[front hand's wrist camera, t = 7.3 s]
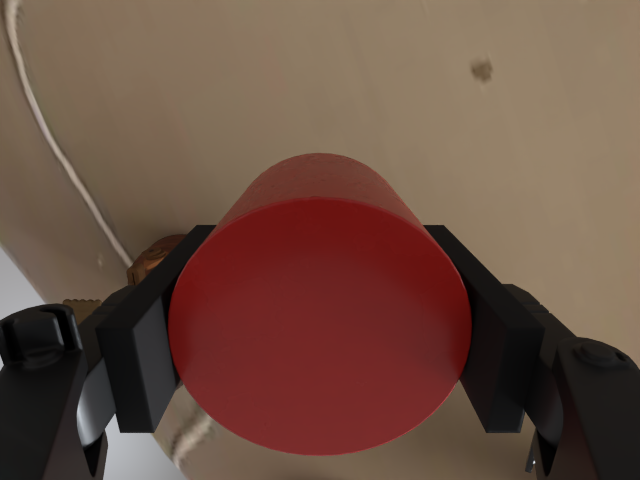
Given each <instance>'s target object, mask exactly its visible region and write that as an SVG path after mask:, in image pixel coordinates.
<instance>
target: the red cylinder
mask: <svg viewBox="0 0 640 480" xmlns="http://www.w3.org/2000/svg"><path fill="white" fill-rule="evenodd" d="M471 335H472V317H471V307H470V303H469V299H468V295H467V291H466V288H465V286H464V284H463V281H462V279H461V276H460V274H459V272H458V271H457V269H456V267H455V266H454V264H453V263H452V261H451V259H450V258H449V257H448V255H447V254H446V253H445V252H444V250H443V249H442V248H441V247H440V246H439V244H438V243H437V242H436V241H435V240H434V238H433V237H432V236H431V235H430V233H429V232H428V231H427V230H426V229H425V227H424V226H423V225H422V224H421V223H420V221H419V220H418V219H417V218H416V216H415V215H414V214H413V213H412V212H411V210H410V209H409V208H408V207H407V206H406V204H405V203H404V202H403V201H402V199H401V198H400V197H399V196H398V195H397V193H396V192H395V191H394V190H393V189H392V187H391V186H390V185H389V184H388V183H387V182H386V180H385V179H384V178H382V177H381V176H380V175H379V174H378V173H377V172H375V171H374V170H372V169H371V168H370V167H368V166H367V165H365V164H363V163H361V162H358V161H356V160H354V159H351V158H348V157H345V156H341V155H335V154H327V153H313V154H304V155H299V156H295V157H292V158H289V159H286V160H283V161H281V162H279V163H277V164H275V165H274V166H272V167H270V168H269V169H267V170H266V171H265V172H263V173H262V174H261V175H260V176H259V177H258V178H256V179H255V180H254V181H253V182H252V184H251V185H250V186H249V187H248V188H247V190H246V191H245V192H244V193H243V194H242V196H241V197H240V198H239V199H238V200H237V202H236V203H235V204H234V205H233V207H232V208H231V209H230V210H229V211H228V213H227V214H226V215H225V216H224V217H223V219H222V220H221V221H220V222H219V223H218V225H217V226H216V227H215V228H214V229H213V231H212V232H211V233H210V234H209V236H208V237H207V238H206V239H205V240H204V242H203V243H202V244H201V245H200V246H199V248H198V249H197V250H196V251H195V253H194V254H193V255H192V256H191V258H190V259H189V260H188V262H187V263H186V265H185V267H184V269H183V270H182V272H181V274H180V276H179V277H178V280H177V283H176V285H175V288H174V291H173V293H172V297H171V302H170V306H169V311H168V338H169V347H170V351H171V355H172V359H173V362H174V365H175V367H176V370H177V372H178V374H179V377H180V379H181V380H182V382H183V384H184V385H185V387H186V389H187V390H188V392H189V393H190V395H191V396H192V397H193V398H194V400H195V401H196V402H197V404H198V405H199V406H200V407H201V408H202V409H203V410H204V411H205V412H206V413H207V414H208V415H209V416H210V417H211V418H213V419H214V420H215V421H217V422H218V423H219V424H221V425H222V426H223V427H224V428H226V429H228V430H229V431H231V432H233V433H234V434H236V435H238V436H239V437H242V438H244V439H246V440H248V441H250V442H252V443H255V444H257V445H260V446H263V447H266V448H269V449H272V450H277V451H281V452H285V453H291V454H298V455H308V456H330V455H342V454H349V453H355V452H359V451H363V450H367V449H371V448H374V447H377V446H379V445H382V444H385V443H388V442H390V441H392V440H394V439H396V438H398V437H400V436H402V435H404V434H406V433H407V432H409V431H410V430H412V429H413V428H415V427H417V426H418V425H419V424H421V423H422V422H423V421H424V420H426V419H427V418H428V417H429V416H431V415H432V414H433V413H434V412H435V411H436V410H437V409H438V408H439V406H440V405H441V404H442V403H443V402H444V401H445V400H446V398H447V397H448V396H449V394H450V393H451V392H452V390H453V389H454V387H455V385H456V383H457V382H458V380H459V378H460V376H461V374H462V372H463V369H464V366H465V364H466V361H467V358H468V354H469V349H470V345H471Z"/></svg>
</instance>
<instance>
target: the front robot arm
mask: <svg viewBox="0 0 640 480" xmlns="http://www.w3.org/2000/svg"><path fill="white" fill-rule="evenodd" d="M216 226H217V225H196V226H195V227H194V228H193V229H192V230H191V231H190V232H189V233H188V234H187V235H186V236H185V237H184V238H183V240H182V241H181V242H180V243H179V244H178V245H177V246H176V247H175V248H174V249H173V250H172V251H171V252H170V253H169V254H168V255H167V256H166V257H165V258H164V259H163V260H162V261H161V262H160V263H159V264H158V265H157V266H156V267H155V268H154V269H153V270H152V271H151V272H150V273H149V274H148V275H147V276H146V277H145V278H144V279H143V280H142V281H141V282H140V283H139V284H138V285H128V286H126V287H124V288H122V289H120V290H118V291H116V292H115V293H113V294H111V295H110V296H109V297H108V298H107V299H106V300H105V301H104V302H103V303H102V304H101V306H98V307H97V308H96V309H95V310H94V311H93V312H92V315H89V316H88V317H86V318H85V319H84V320H83V321H82V322H81V323H80V324H79V325H77V321H76V318H75V314H74V310H73V308H71V307H70V306H68V305H64V304H45V305H40V306H35V307H31V308H27V309H24V310H21V311H19V312H16V313H13V314H11V315H9V316H7V317H5V318H4V319H2V320H0V355H1V358H2V361H3V364H4V366H3V367H2V369H1V371H0V480H103V475H104V469H105V462H106V456H107V449H108V441H107V436H106V432H105V428H106V426H107V425H108V423H109V422H110V420H111V419H112V417H113V416H114V414H116V418H117V422H118V426H119V430H120V433H154V432H155V430H156V428H157V426H158V424H159V422H160V420H161V418H162V416H163V414H164V412H165V410H166V408H167V406H168V404H169V402H170V400H171V398H172V396H173V394H174V392H175V390H176V388H177V386H178V384H179V382H180V380H181V379H180V377H179V374H178V372H177V370H176V367H175V365H174V362H173V359H172V355H171V351H170V347H169V338H168V311H169V306H170V302H171V297H172V293H173V291H174V288H175V285H176V283H177V280H178V277H179V276H180V274H181V272H182V270H183V269H184V267H185V265H186V263H187V262H188V260H189V259H190V258H191V256H192V255H193V254H194V253H195V251H196V250H197V249H198V248H199V246H200V245H201V244H202V243H203V242H204V240H205V239H206V238H207V237H208V236H209V234H210V233H211V232H212V231H213V229H214V228H215V227H216ZM423 226H424V227H425V229H426V230H427V231H428V232H429V233H430V235H431V236H432V237H433V238H434V240H435V241H436V242H437V243H438V244H439V246H440V247H441V248H442V249H443V250H444V252H445V253H446V254H447V255H448V257H449V258H450V259H451V261H452V263H453V264H454V266H455V267H456V269H457V271H458V272H459V274H460V276H461V279H462V281H463V284H464V286H465V288H466V291H467V295H468V299H469V303H470V307H471V317H472V335H471V345H470V349H469V354H468V358H467V361H466V364H465V366H464V369H463V372H462V374H461V376H460V378H459V379H460V381H461V383H462V385H463V387H464V389H465V391H466V393H467V395H468V397H469V399H470V401H471V403H472V405H473V407H474V409H475V411H476V413H477V415H478V417H479V419H480V421H481V423H482V425H483V427H484V429H485V431H486V433H520V431H521V427H522V423H523V419H524V415H525V412H526V413H527V415H528V416H529V418H530V419H531V421H532V422H533V424H534V425H535V427H536V428H535V432H534V436H533V440H532V443H531V447H530V451H529V455H528V459H527V462H526V469H525V471H526V472H529V473H531V471H532V467H533V464H535V468H536V474H537V480H640V370H639V368H638V367H637V365H636V364H635V363H634V362H633V360H632V359H631V358H630V357H629V356H628V355H626V354H624V353H623V352H621V351H620V350H618V349H617V348H615V347H612V346H610V345H608V344H605V343H603V342H600V341H596V340H593V339H589V338H581V337H576V336H575V335H574V334H573V333H572V332H571V331H570V330H569V329H568V328H567V327H566V326H564V325H563V324H562V323H561V322H560V321H559V320H558V319H557V318H556V317H555V316H554V315H553V314H551V313H549V311H548V310H547V309H546V308H545V307H544V306H543V305H540V303H539V302H538V301H537V300H536V299H535V298H534V297H533V296H532V295H531V294H530V293H529V292H527V291H525V290H523V289H521V288H519V287H517V286H515V285H513V284H501V283H500V282H499V281H498V280H497V279H496V278H495V277H494V276H493V275H492V274H491V273H490V272H489V271H488V270H487V269H486V267H485V266H484V265H483V264H482V263H481V262H480V261H479V260H478V259H477V258H476V257H475V256H474V255H473V254H472V253H471V252H470V251H469V250H468V249H467V248H466V247H465V246H464V245H463V244H462V243H461V242H460V241H459V240H458V239H457V238H456V237H455V236H454V235H453V234H452V233H451V232H450V231H449V230H448V229H447V228H446V227H445V226H444V225H423Z"/></svg>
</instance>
